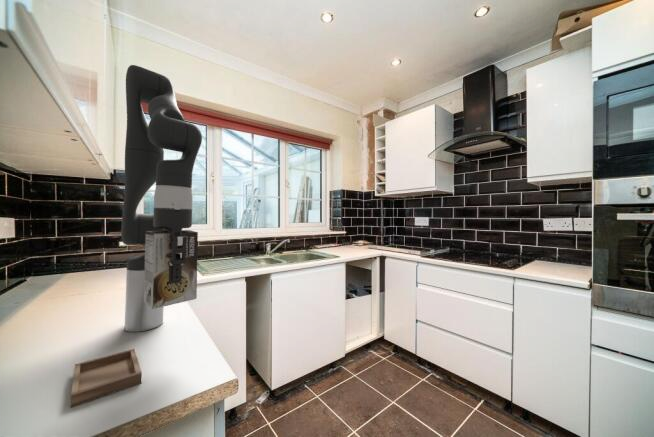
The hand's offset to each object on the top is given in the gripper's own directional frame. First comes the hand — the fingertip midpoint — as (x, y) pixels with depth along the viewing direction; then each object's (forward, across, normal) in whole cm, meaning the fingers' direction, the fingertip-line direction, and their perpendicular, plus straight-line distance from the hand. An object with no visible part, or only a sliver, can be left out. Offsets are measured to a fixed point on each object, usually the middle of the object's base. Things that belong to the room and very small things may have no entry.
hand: (171, 279), depth 57 cm
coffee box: (+5, 0, 0) cm, 5 cm away
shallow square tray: (+18, 0, -11) cm, 21 cm away
